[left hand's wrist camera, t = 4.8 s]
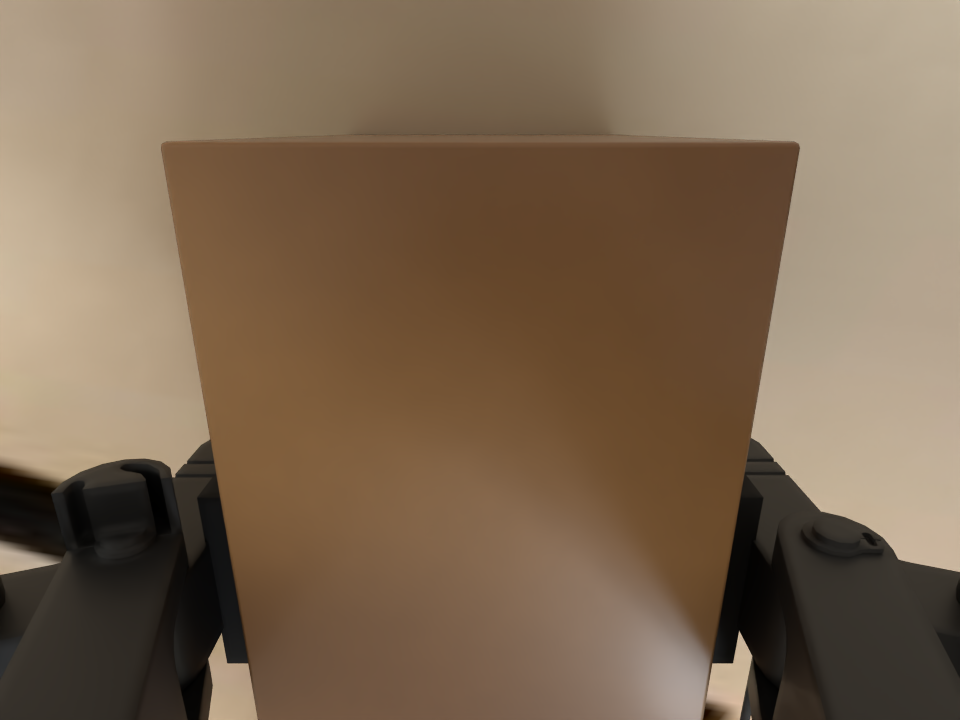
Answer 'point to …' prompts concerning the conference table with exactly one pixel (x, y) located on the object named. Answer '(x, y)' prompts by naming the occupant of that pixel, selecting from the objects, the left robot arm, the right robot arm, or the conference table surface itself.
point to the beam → (480, 410)
